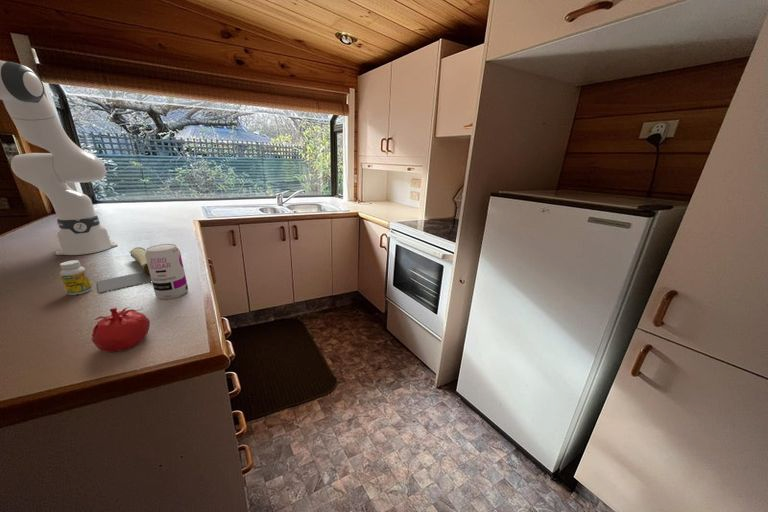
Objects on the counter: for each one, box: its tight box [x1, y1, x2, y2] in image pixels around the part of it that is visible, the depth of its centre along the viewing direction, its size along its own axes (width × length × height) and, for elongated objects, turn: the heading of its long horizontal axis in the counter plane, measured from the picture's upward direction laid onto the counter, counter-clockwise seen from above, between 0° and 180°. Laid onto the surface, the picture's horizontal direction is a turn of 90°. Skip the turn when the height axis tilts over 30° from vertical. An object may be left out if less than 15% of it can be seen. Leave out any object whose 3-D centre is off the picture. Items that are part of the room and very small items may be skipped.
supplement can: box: [145, 243, 189, 300], centre depth 87 cm, size 8×8×15 cm
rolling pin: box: [128, 247, 150, 276], centre depth 107 cm, size 32×6×5 cm, turn 47°
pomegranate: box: [91, 307, 151, 353], centre depth 66 cm, size 10×10×9 cm
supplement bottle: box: [59, 259, 93, 296], centre depth 88 cm, size 5×5×10 cm
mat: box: [96, 271, 152, 294], centre depth 98 cm, size 11×18×1 cm, turn 135°
